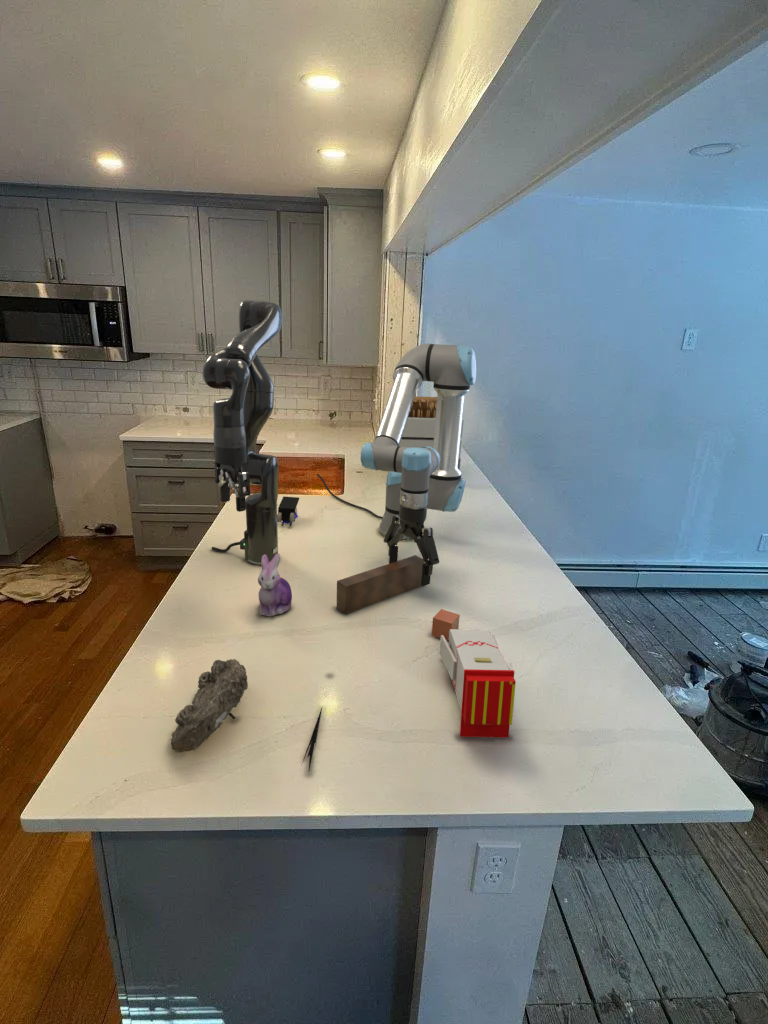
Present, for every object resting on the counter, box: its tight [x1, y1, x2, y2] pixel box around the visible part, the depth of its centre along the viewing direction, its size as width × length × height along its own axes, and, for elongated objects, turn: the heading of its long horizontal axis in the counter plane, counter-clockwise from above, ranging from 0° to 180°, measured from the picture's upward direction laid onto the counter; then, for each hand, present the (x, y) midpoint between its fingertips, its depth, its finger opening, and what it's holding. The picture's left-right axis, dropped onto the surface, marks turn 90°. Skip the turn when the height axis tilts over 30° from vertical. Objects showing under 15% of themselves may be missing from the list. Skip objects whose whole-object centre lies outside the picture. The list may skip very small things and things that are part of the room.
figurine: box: [257, 553, 293, 617], centre depth 145 cm, size 9×10×15 cm
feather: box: [301, 673, 332, 771], centre depth 108 cm, size 2×28×2 cm
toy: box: [438, 628, 517, 738], centre depth 117 cm, size 12×13×30 cm
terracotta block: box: [431, 608, 461, 642], centre depth 139 cm, size 5×5×5 cm
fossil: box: [170, 658, 249, 753], centre depth 106 cm, size 22×10×15 cm
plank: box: [336, 554, 425, 615], centre depth 155 cm, size 28×4×8 cm, turn 131°
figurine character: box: [277, 495, 300, 527], centre depth 205 cm, size 7×8×15 cm
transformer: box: [388, 395, 464, 473], centre depth 268 cm, size 34×33×41 cm
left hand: (233, 506), depth 143 cm, fingers open, 8 cm apart
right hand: (408, 576), depth 161 cm, fingers open, 13 cm apart
